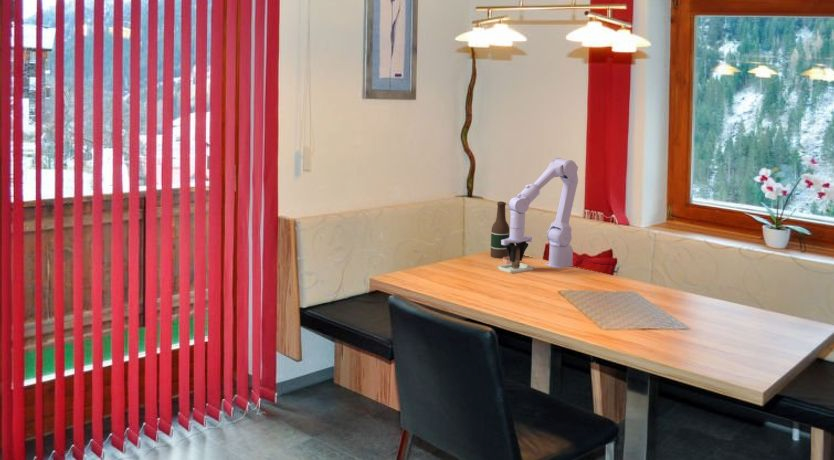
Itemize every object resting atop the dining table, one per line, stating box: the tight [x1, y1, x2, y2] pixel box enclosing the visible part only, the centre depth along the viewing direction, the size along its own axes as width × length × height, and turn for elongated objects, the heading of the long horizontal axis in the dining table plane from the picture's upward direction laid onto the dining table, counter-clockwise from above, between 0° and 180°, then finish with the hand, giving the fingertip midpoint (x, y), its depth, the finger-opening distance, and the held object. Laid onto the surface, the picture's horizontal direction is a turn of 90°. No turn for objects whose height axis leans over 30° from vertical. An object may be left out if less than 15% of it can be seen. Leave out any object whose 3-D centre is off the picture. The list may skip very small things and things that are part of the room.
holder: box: [502, 256, 512, 265], centre depth 364 cm, size 6×6×2 cm
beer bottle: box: [490, 201, 510, 260], centre depth 374 cm, size 8×8×24 cm
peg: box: [511, 248, 521, 268], centre depth 353 cm, size 3×3×8 cm
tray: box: [496, 262, 535, 274], centre depth 354 cm, size 12×9×2 cm
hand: (515, 260), depth 354 cm, fingers closed on peg, 3 cm apart
